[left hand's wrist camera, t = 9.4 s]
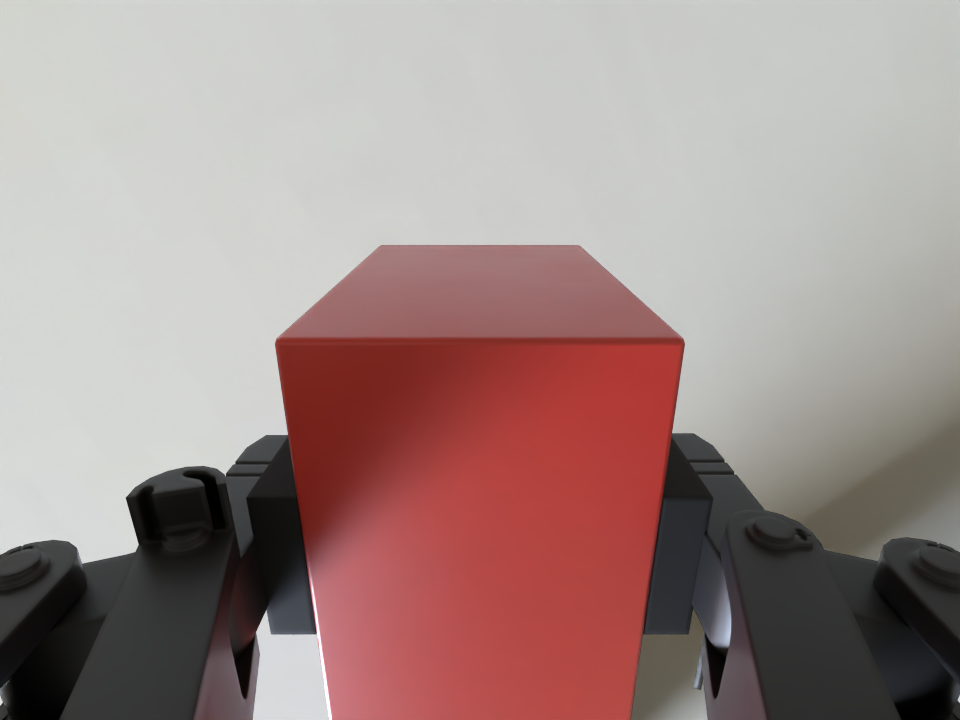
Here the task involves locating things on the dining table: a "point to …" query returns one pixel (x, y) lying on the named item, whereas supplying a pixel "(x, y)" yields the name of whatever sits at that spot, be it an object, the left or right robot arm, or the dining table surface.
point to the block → (479, 481)
